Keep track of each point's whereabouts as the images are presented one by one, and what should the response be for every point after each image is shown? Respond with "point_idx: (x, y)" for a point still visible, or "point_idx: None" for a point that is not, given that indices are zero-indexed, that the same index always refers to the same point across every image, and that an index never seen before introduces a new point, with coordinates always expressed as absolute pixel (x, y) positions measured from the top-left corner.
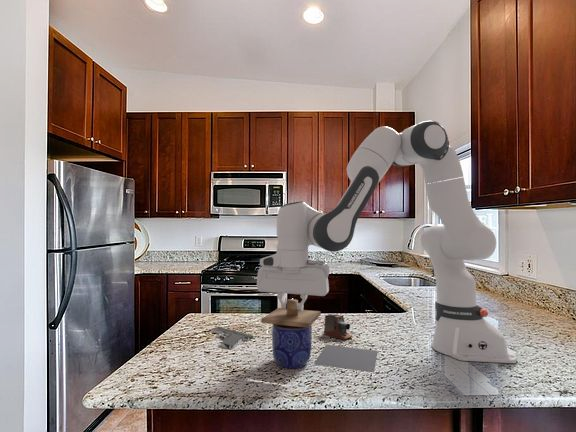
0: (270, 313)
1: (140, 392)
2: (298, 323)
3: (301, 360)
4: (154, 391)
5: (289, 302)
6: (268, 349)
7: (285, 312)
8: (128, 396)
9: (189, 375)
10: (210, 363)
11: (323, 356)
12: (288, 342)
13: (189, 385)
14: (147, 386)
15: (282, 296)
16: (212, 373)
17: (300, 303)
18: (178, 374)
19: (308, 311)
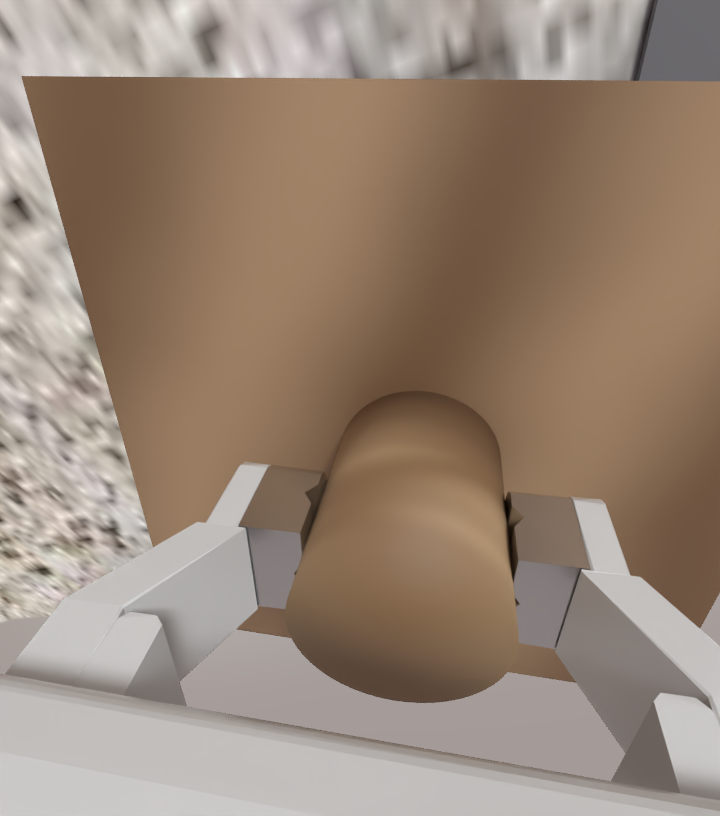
0: (131, 444)
1: (38, 596)
2: (548, 669)
3: None
4: (65, 588)
5: (376, 680)
6: (172, 25)
7: (283, 361)
8: (34, 614)
9: (59, 490)
10: (30, 373)
11: (689, 62)
12: None
13: (123, 548)
14: (19, 569)
15: (143, 608)
16: (120, 460)
17: (577, 673)
18: (18, 490)
19: (673, 185)
